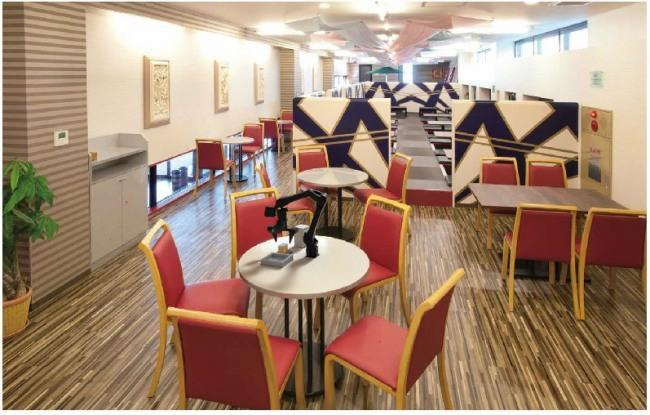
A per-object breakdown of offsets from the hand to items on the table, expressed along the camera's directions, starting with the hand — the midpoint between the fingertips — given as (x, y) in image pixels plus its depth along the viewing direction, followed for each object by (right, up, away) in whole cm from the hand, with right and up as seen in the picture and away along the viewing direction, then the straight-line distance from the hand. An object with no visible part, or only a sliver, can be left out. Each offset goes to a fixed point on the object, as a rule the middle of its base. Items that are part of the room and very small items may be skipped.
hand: (283, 242), depth 312 cm
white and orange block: (0, -7, +2) cm, 7 cm away
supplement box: (+11, -3, +18) cm, 21 cm away
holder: (0, -7, +2) cm, 7 cm away
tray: (-2, -10, -12) cm, 16 cm away
